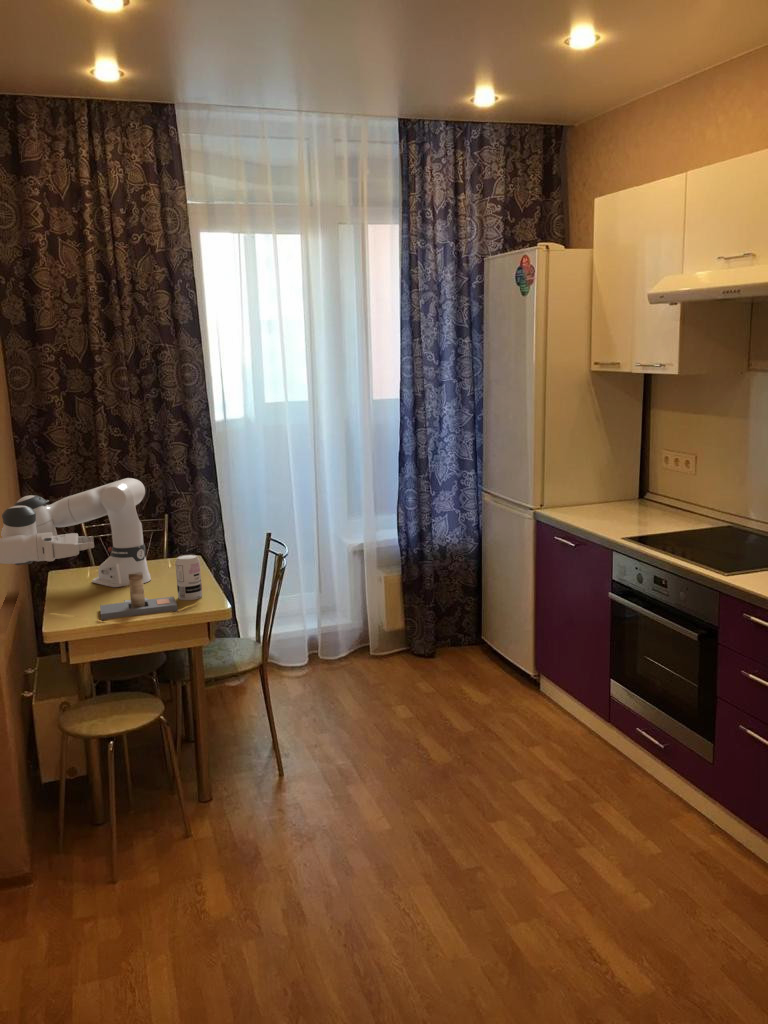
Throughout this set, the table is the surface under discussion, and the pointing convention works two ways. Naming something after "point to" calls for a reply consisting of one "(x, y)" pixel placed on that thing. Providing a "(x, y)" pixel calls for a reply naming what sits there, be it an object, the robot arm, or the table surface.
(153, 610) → the socket board
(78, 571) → the table surface
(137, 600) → the maple peg
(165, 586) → the table surface
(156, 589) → the table surface
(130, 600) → the pad
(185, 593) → the supplement can
